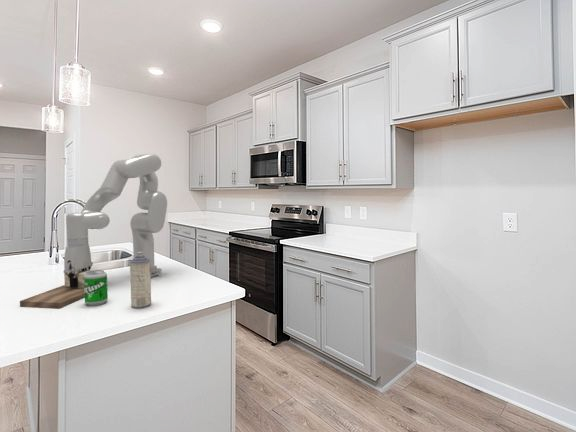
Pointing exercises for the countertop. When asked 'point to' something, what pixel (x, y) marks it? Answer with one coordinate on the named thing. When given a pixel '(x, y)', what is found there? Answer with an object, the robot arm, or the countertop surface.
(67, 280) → the block
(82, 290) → the board
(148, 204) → the robot arm
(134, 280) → the aerosol can
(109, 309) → the countertop surface
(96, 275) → the soda can
